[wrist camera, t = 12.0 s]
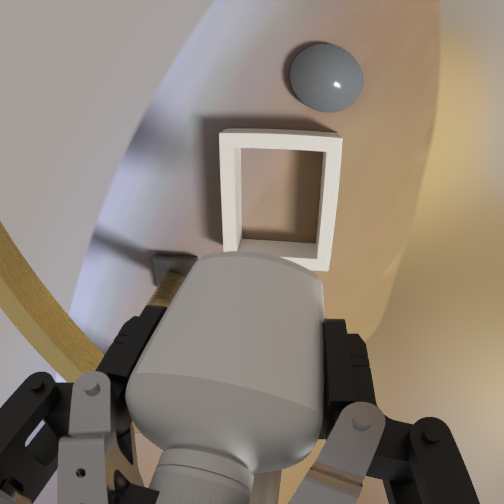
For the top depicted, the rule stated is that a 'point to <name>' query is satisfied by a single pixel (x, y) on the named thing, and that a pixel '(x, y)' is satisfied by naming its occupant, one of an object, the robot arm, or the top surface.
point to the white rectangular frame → (230, 175)
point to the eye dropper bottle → (232, 377)
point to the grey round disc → (326, 78)
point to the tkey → (55, 314)
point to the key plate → (172, 265)
